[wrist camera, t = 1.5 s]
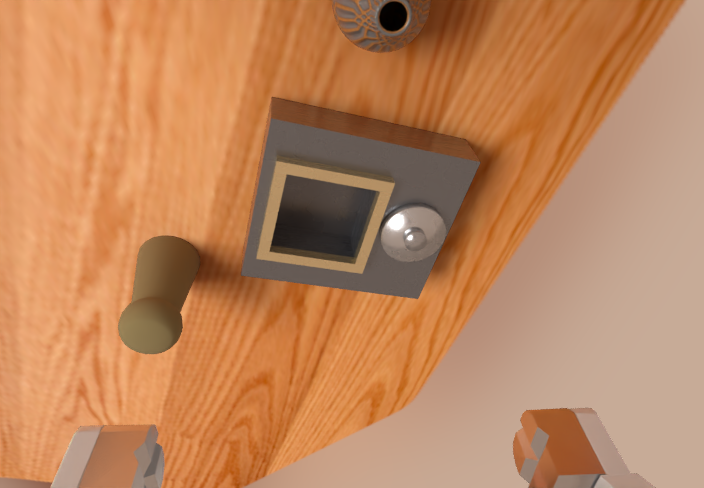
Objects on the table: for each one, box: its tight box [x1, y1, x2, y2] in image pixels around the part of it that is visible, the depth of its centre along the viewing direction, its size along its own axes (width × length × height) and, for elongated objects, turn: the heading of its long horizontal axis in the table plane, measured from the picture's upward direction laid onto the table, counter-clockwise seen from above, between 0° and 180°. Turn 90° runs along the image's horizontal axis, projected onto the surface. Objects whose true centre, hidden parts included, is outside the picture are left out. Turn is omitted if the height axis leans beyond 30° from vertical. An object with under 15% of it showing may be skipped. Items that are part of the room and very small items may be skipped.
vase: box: [332, 0, 431, 53], centre depth 36 cm, size 7×7×9 cm
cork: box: [118, 236, 200, 354], centre depth 48 cm, size 6×6×11 cm
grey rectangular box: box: [241, 97, 480, 299], centre depth 47 cm, size 18×16×6 cm
